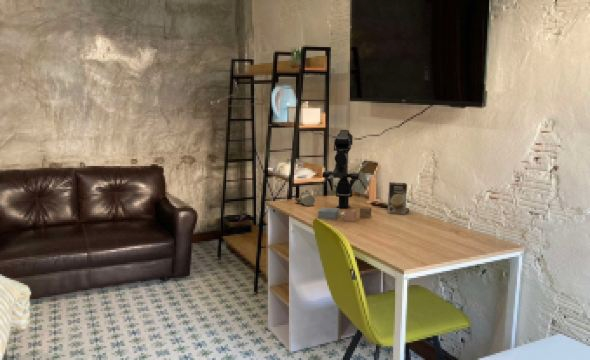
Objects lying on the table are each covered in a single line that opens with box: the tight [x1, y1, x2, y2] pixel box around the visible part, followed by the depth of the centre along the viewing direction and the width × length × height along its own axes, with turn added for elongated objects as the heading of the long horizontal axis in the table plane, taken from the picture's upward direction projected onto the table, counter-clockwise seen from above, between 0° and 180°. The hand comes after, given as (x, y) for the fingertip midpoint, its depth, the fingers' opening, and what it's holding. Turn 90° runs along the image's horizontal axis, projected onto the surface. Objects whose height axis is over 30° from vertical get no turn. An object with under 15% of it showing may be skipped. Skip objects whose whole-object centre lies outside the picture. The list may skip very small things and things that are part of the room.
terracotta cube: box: [343, 208, 358, 222], centre depth 257 cm, size 5×5×5 cm
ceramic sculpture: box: [294, 189, 316, 207], centre depth 293 cm, size 11×9×15 cm
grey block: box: [317, 207, 340, 220], centre depth 263 cm, size 9×9×4 cm
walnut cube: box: [359, 206, 372, 219], centre depth 263 cm, size 5×5×5 cm
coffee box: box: [387, 182, 408, 215], centre depth 272 cm, size 9×6×16 cm
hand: (341, 191), depth 259 cm, fingers open, 9 cm apart
